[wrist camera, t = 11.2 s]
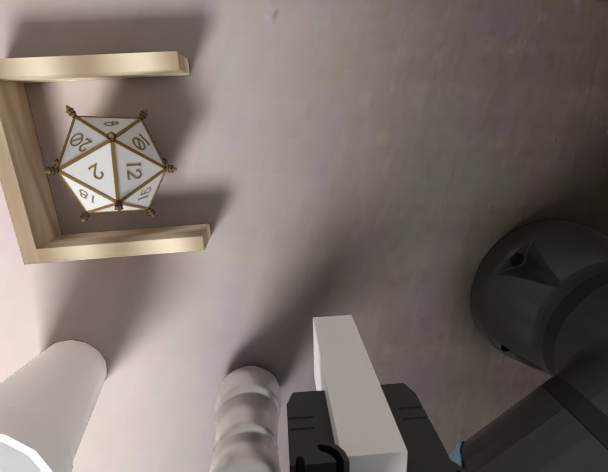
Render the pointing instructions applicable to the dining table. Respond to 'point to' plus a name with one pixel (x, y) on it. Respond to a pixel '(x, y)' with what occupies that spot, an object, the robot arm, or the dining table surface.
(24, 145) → the corral
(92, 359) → the foam cup
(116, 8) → the dining table surface
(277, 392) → the plastic bottle
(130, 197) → the game die
